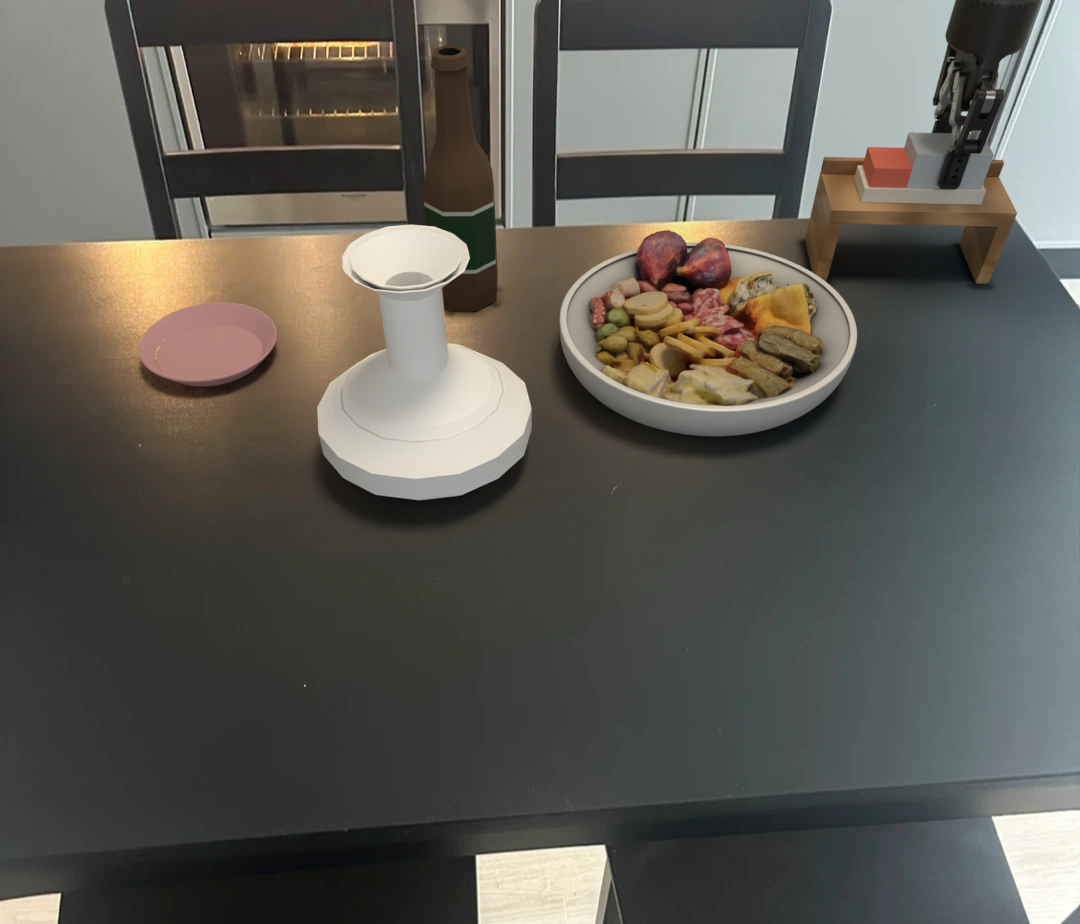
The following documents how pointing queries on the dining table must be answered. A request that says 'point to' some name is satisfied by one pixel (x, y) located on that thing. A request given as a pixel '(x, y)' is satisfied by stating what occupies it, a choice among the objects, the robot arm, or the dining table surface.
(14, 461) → the dining table surface
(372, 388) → the candle holder
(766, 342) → the bowl
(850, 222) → the shoe shelf
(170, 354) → the plate
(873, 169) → the stepped block with orange
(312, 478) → the dining table surface
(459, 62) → the beer bottle
